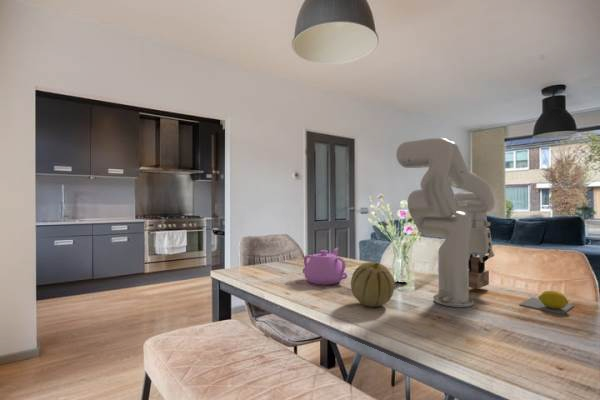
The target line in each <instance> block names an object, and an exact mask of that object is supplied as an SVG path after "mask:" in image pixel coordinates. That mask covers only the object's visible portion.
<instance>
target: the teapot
mask: <svg viewBox="0 0 600 400" xmlns="http://www.w3.org/2000/svg"><path fill="white" fill-rule="evenodd" d="M338 251H339V247H335V248H334V249H333V251H332V253H328V252H329V251H328V249H327V250H326V249H321V250H319V252H320V253H314V254H306V255H305V256H304V257H303V265H304V268H302V273H303V274H304V278H305V279H306V280H307V281H308V282H309V283H311V284H316V285H324V286H330V285H335V284H339V283H340V282H342V280H346V279H347V278H348V273H347V272H345V270H346V261H345V259H344V258H342V257H339V256H338ZM308 258H309V259H308ZM340 261H341V262H340Z"/></svg>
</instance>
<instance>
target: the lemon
mask: <svg viewBox="0 0 600 400" xmlns="http://www.w3.org/2000/svg"><path fill="white" fill-rule="evenodd" d="M538 299H540V300H541V302H542V303H543V304H544V305H545V306H546V307H549V308H553V309H561V308H564V307H565V306H566V305H567V304H569V300H568V298H567V296H565V294H563V293H561V292H559V291H555V290H546V291H543V292H542V293H541V294H540V295H539V296H538Z"/></svg>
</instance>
